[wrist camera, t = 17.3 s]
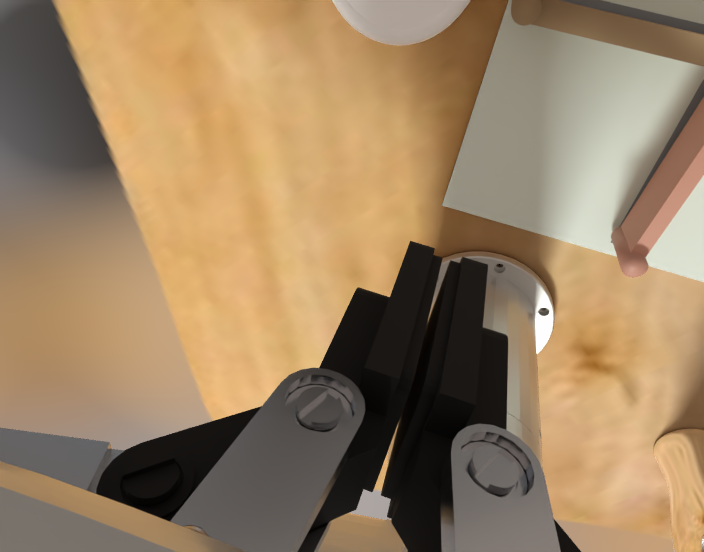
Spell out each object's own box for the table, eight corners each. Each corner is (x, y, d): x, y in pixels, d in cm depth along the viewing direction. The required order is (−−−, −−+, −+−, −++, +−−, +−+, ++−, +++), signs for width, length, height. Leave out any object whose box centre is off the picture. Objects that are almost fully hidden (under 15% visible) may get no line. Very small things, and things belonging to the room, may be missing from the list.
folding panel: (736, 35, 30) (768, 48, 26) (764, 43, 29) (800, 57, 26) (606, 240, 38) (616, 272, 34) (627, 247, 38) (639, 280, 34)
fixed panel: (699, 59, 31) (727, 76, 27) (507, 12, 32) (506, 21, 28) (715, 31, 30) (746, 44, 26) (517, -16, 31) (517, -11, 27)
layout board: (805, 310, 38) (808, 313, 37) (442, 203, 41) (441, 205, 41) (1038, 57, 27) (1044, 58, 27) (527, -58, 30) (527, -58, 30)
